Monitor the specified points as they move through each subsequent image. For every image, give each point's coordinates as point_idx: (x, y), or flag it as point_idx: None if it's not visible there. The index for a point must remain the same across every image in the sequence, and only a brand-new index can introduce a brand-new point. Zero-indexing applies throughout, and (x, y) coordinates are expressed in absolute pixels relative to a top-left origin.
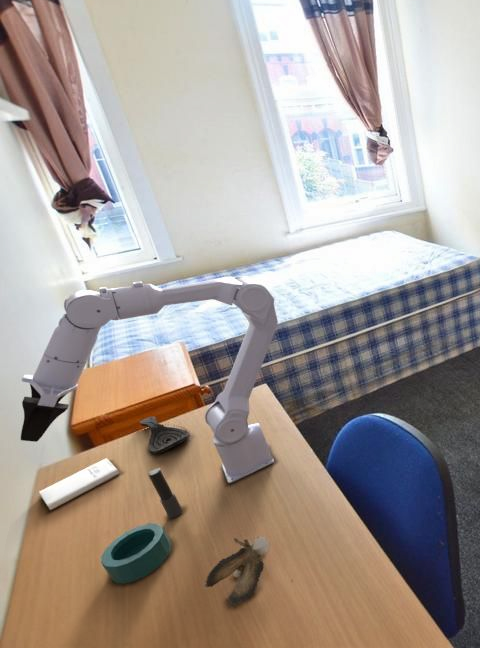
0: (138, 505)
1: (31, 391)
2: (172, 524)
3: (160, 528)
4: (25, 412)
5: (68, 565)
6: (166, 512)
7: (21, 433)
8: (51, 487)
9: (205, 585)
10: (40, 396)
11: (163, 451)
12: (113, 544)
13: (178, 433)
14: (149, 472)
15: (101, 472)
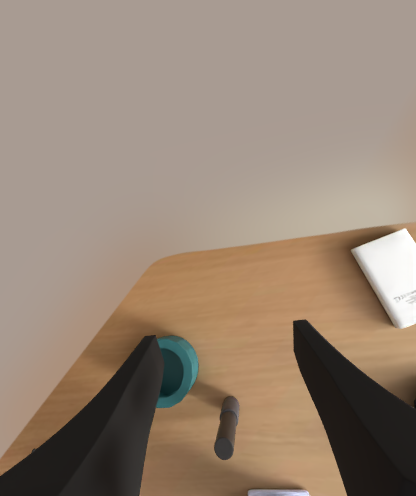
0: (285, 357)
1: (364, 430)
2: (211, 399)
3: (166, 405)
4: (48, 443)
5: (219, 290)
6: (227, 400)
7: (134, 350)
8: (405, 243)
9: (33, 450)
10: (348, 433)
11: (414, 404)
12: (178, 350)
13: None
14: (227, 440)
15: (407, 305)
